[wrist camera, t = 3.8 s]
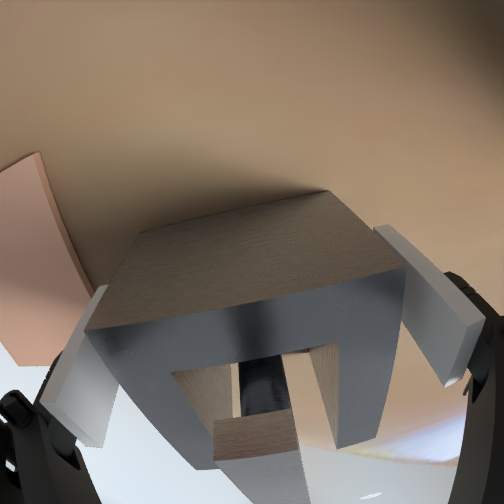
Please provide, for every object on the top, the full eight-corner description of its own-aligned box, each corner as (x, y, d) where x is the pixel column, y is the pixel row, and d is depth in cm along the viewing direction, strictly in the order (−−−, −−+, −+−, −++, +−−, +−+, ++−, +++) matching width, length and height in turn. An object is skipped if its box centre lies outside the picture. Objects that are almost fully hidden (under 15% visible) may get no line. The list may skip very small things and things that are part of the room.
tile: (-58, 214, 12) (-63, 218, 11) (39, 151, 11) (32, 153, 11) (21, 361, 17) (18, 366, 17) (129, 354, 17) (127, 361, 17)
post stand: (207, 237, 14) (184, 462, 5) (267, 224, 14) (330, 442, 5) (237, 332, 17) (248, 516, 7) (285, 322, 17) (328, 504, 7)
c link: (140, 232, 14) (83, 331, 7) (329, 190, 13) (406, 265, 7) (200, 372, 18) (196, 470, 12) (339, 345, 18) (375, 437, 12)
